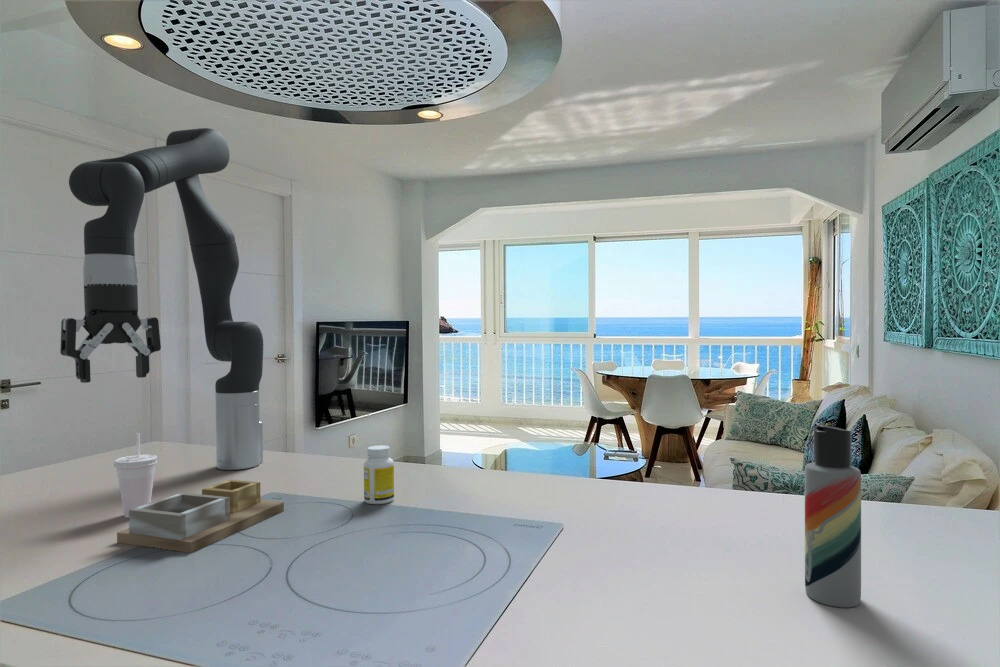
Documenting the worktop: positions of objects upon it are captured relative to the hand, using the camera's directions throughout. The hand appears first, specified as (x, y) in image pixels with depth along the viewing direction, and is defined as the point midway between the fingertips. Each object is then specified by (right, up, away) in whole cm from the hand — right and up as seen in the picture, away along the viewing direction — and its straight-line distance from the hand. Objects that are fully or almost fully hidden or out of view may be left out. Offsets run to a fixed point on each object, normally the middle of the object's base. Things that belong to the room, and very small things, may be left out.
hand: (114, 379), depth 99 cm
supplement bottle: (+43, -23, +9) cm, 49 cm away
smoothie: (+3, -23, +2) cm, 24 cm away
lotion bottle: (+103, -23, -31) cm, 110 cm away
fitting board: (+18, -23, -4) cm, 29 cm away
